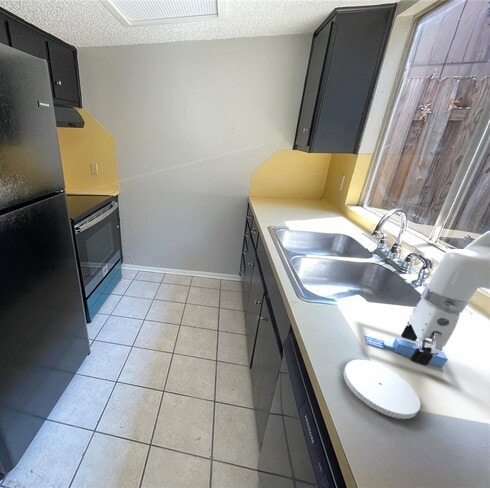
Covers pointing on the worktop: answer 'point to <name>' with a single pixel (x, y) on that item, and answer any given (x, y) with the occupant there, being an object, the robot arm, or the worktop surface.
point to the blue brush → (405, 349)
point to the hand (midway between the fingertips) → (412, 350)
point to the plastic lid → (381, 389)
